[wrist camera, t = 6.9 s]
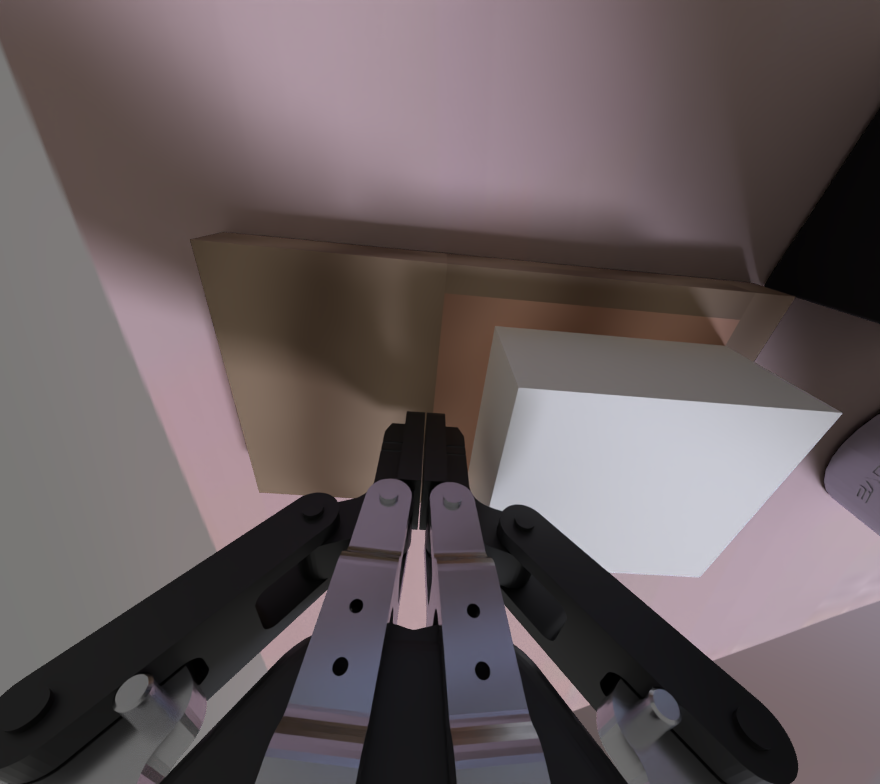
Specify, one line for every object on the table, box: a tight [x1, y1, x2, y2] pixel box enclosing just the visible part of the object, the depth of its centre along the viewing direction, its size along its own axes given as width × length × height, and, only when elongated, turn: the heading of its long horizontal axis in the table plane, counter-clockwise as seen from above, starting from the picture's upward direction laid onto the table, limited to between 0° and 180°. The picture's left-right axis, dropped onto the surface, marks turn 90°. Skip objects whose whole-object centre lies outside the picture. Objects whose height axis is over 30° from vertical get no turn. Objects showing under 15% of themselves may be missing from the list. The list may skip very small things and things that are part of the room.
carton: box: [468, 326, 843, 577], centre depth 13 cm, size 9×8×4 cm
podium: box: [190, 232, 795, 502], centre depth 16 cm, size 21×12×2 cm, turn 85°
